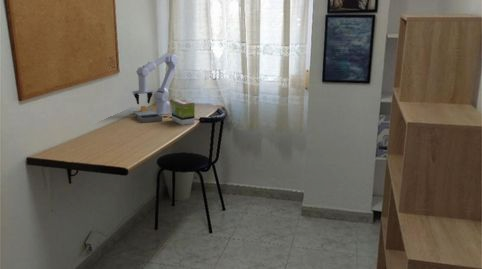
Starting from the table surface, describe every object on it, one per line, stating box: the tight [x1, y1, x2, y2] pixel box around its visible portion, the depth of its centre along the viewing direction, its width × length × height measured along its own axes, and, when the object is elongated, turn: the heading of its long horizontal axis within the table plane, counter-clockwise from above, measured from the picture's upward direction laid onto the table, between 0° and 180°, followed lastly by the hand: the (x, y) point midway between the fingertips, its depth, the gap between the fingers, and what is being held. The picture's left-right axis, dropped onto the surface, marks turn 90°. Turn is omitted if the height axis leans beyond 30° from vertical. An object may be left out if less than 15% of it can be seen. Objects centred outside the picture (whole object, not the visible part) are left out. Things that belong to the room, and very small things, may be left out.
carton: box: [136, 114, 163, 124], centre depth 309 cm, size 14×12×3 cm
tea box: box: [171, 98, 195, 126], centre depth 306 cm, size 15×10×15 cm, turn 37°
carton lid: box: [133, 105, 158, 116], centre depth 315 cm, size 14×12×4 cm
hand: (143, 103), depth 317 cm, fingers open, 7 cm apart
